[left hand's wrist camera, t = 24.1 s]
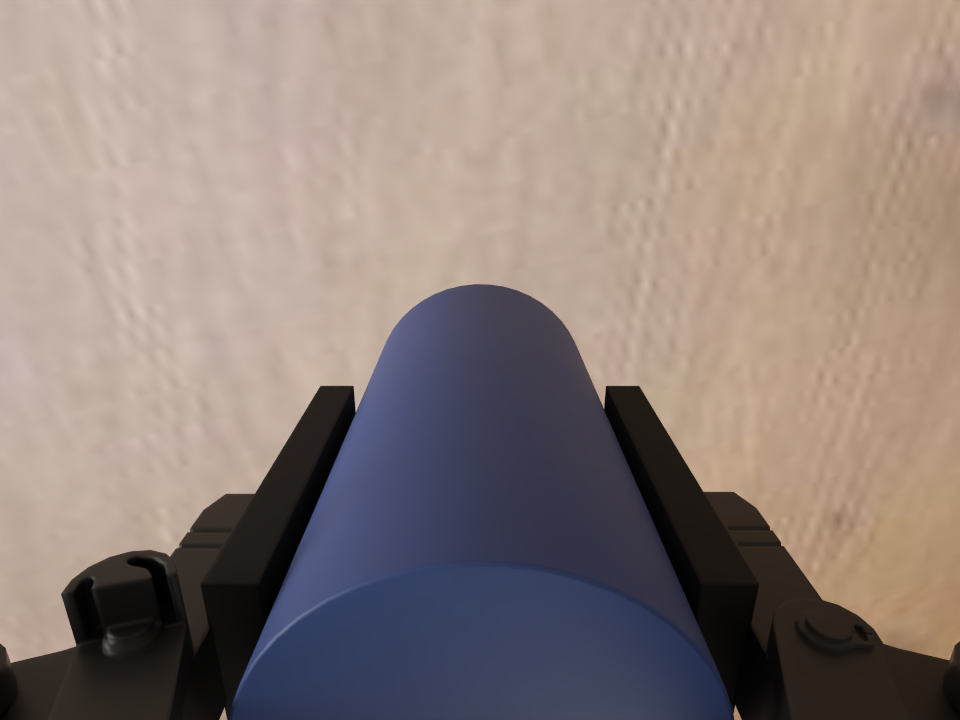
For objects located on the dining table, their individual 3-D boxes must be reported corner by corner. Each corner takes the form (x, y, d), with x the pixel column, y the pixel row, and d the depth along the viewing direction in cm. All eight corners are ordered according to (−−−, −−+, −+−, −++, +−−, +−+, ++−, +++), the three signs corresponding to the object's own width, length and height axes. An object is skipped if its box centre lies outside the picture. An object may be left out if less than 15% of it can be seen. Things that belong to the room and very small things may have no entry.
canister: (596, 293, 17) (798, 584, 6) (568, 478, 19) (681, 935, 8) (381, 275, 16) (206, 544, 6) (376, 464, 18) (239, 913, 8)
